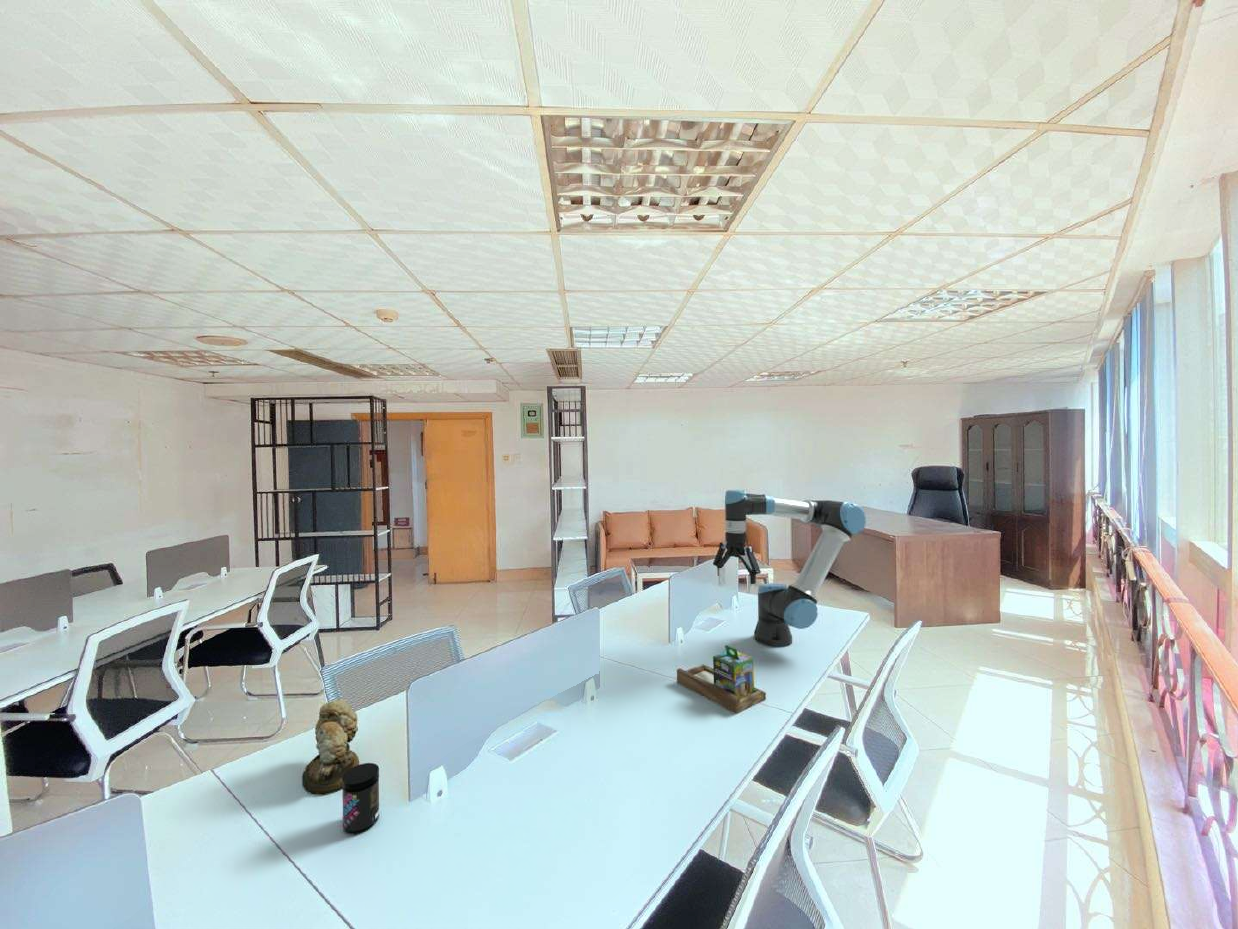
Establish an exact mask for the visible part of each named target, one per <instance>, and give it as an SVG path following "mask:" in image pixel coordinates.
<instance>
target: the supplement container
mask: <svg viewBox="0 0 1238 929" xmlns="http://www.w3.org/2000/svg"><path fill="white" fill-rule="evenodd" d="M341 791H342V794H341V795H342V796H341V798H342V828H343V831H344V832H345V833H347V834H350V835H357V834H362V833H365V832H366V831H369V830H370V829H371V828H372V827H373V826H374V825H375V824H376V823H377V821H378V820H379V817H380V768H379V765H378V764H377V763H373V762H367V763H366V762H365V763H361V764H360V763H359V765H357V766H355V767H352V768H351V769H349V770H348V771H346V772H345V773H344V775H343V777H342V789H341Z"/></svg>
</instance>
